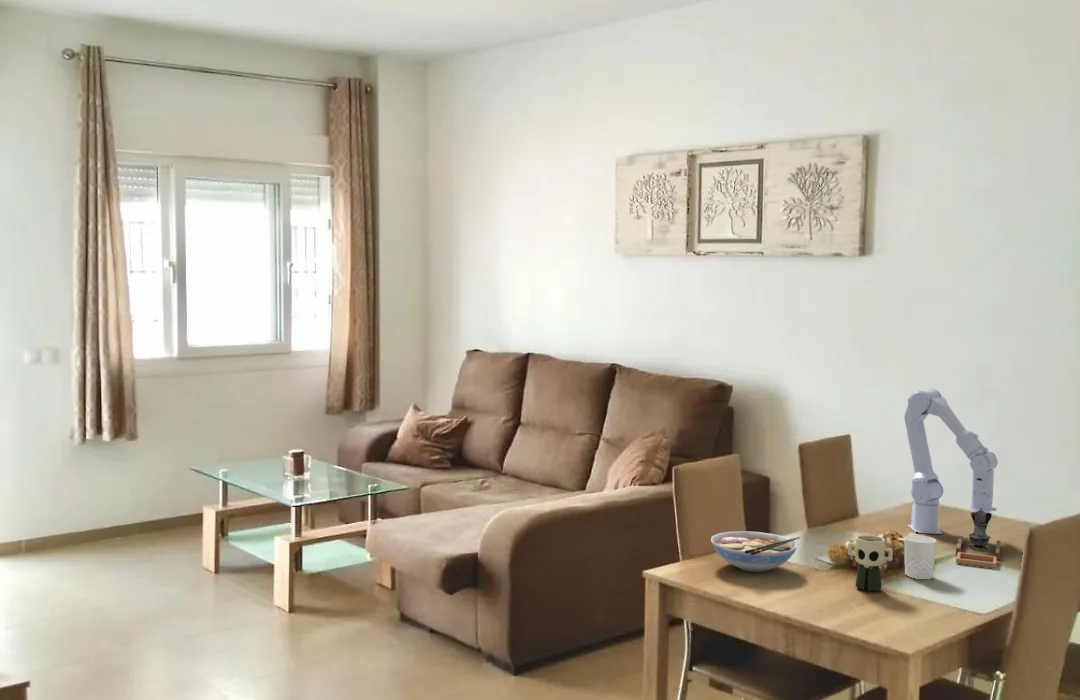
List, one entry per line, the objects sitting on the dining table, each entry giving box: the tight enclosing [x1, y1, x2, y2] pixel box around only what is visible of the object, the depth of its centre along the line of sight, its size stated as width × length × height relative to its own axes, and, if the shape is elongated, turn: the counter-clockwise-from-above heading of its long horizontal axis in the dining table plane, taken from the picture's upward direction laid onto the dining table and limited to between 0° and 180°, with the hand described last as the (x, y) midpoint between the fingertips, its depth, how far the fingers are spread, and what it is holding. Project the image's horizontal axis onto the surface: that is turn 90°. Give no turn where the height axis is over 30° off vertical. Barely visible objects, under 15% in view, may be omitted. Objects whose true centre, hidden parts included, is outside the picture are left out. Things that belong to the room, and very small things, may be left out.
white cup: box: [903, 534, 937, 580], centre depth 268 cm, size 8×8×10 cm
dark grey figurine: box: [968, 508, 991, 552], centre depth 298 cm, size 6×6×12 cm
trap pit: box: [955, 552, 998, 570], centre depth 282 cm, size 8×10×2 cm
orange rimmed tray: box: [955, 535, 1001, 562], centre depth 295 cm, size 16×11×2 cm
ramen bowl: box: [710, 530, 800, 573], centre depth 272 cm, size 25×23×8 cm
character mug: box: [847, 534, 894, 592], centre depth 255 cm, size 11×7×13 cm, turn 61°
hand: (980, 537), depth 306 cm, fingers closed
